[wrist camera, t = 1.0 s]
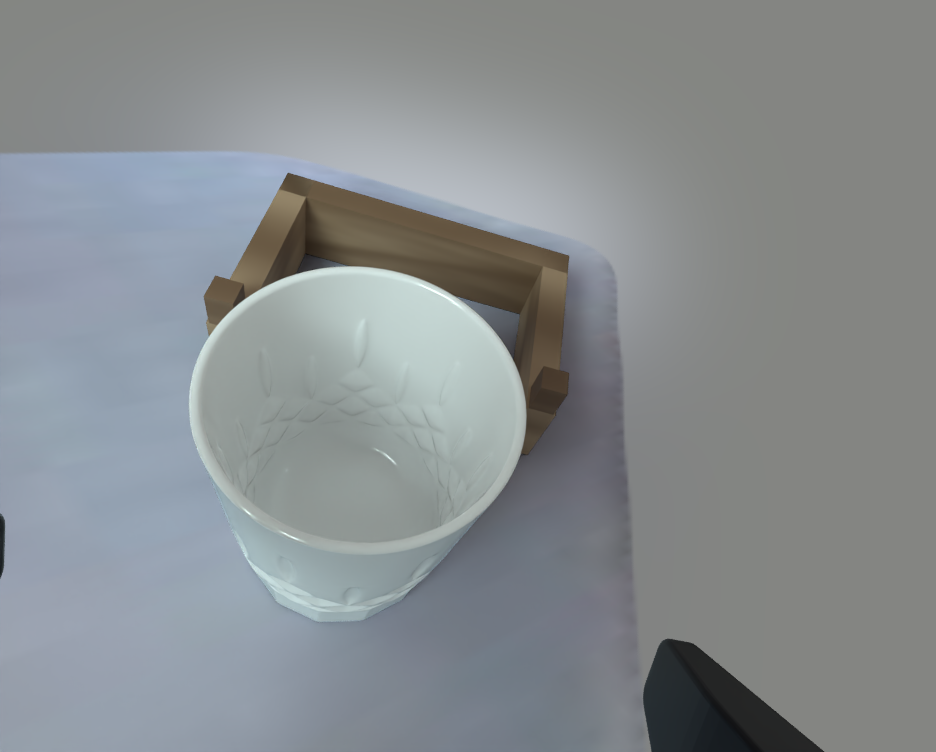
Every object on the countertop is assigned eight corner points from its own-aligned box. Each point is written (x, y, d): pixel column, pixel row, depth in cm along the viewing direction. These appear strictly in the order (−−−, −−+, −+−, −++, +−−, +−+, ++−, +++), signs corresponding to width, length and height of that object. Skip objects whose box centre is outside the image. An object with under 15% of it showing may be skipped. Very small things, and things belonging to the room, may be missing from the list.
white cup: (426, 663, 20) (510, 589, 12) (193, 616, 20) (120, 505, 12) (460, 459, 25) (538, 308, 17) (272, 414, 24) (260, 233, 16)
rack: (527, 455, 26) (569, 395, 22) (216, 374, 25) (200, 295, 20) (544, 303, 31) (581, 232, 27) (289, 230, 30) (287, 144, 26)
